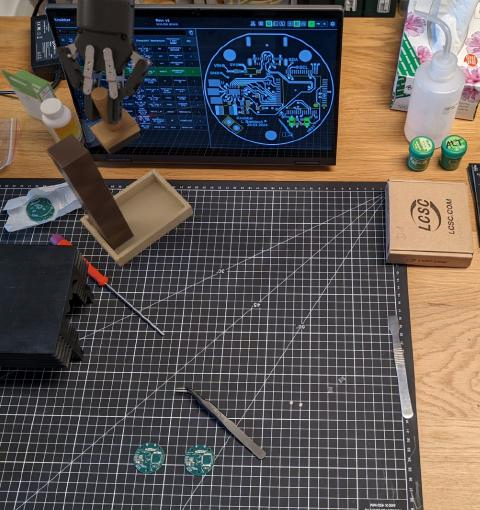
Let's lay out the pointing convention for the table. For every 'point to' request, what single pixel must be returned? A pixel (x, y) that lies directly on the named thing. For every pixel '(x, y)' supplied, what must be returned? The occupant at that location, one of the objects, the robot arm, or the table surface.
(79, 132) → the supplement bottle
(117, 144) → the wooden stamp
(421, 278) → the table surface
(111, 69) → the robot arm
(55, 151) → the dark brown wooden bar
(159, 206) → the tray
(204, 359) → the table surface
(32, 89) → the ink box
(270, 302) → the table surface
